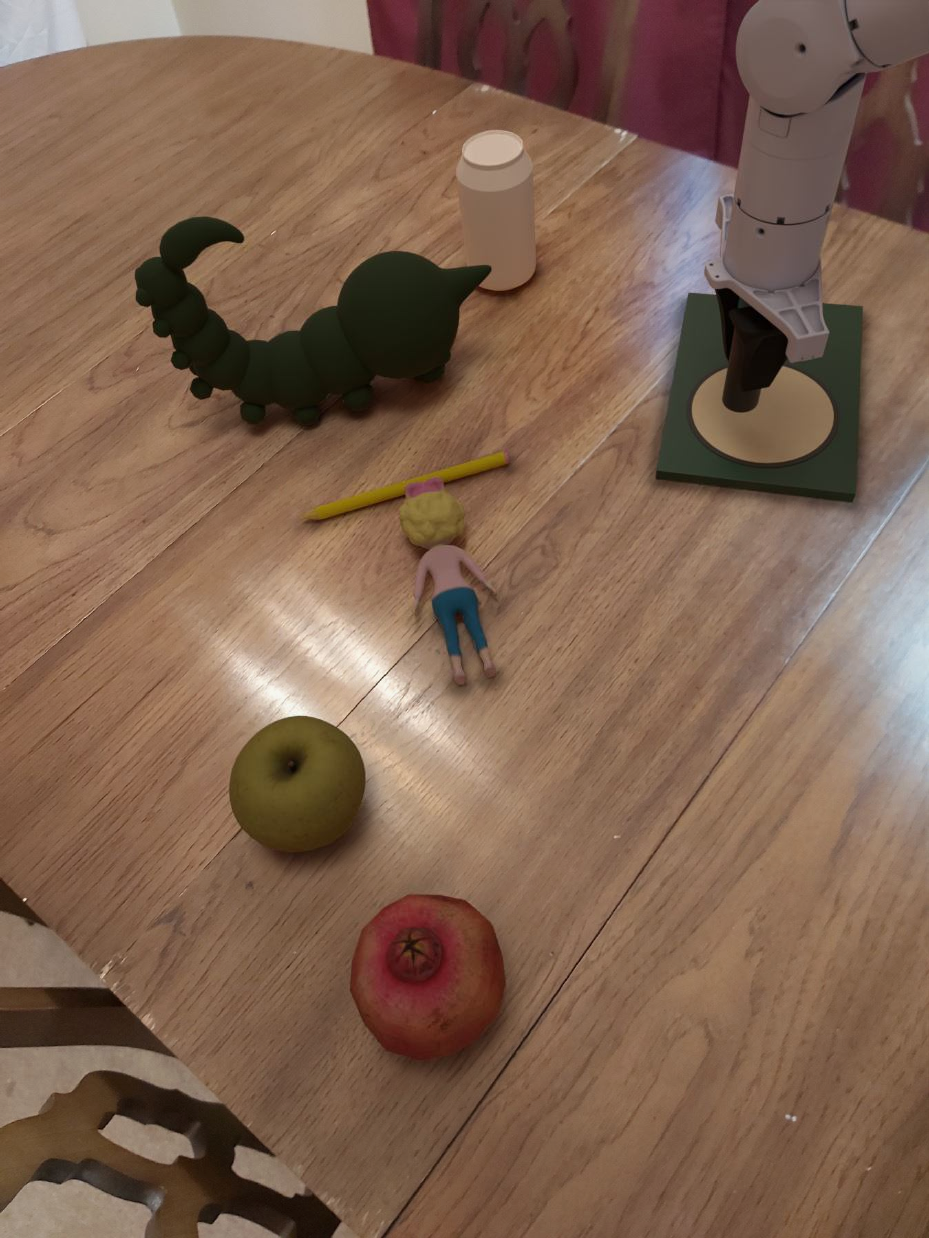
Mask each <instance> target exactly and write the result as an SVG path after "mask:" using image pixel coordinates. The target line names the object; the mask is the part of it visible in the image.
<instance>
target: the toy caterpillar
mask: <svg viewBox="0 0 929 1238" xmlns="http://www.w3.org/2000/svg"><path fill="white" fill-rule="evenodd" d="M244 241H245V235H244V233H243V232H242V231H241V230H240V229H239V228H238V227H236V226H234V225H233V224H231V223H229V222H228V221H226V220H223V219H220V218H216V217H211V216H206V215H205V216H193V217H189V218H186V219H183V220H181V221H178V222H176V223H175V224H174V225H172V226H171V227H169V228H168V229H167V230H166V231H165V232H164V233H163V234H162V236H161V239H160V243H159V247H158V248H159V249H158V250H159V256H152V257H150V258H148V259H145V260H144V261H142V263H141V264H140V266H138V267H136V268H135V270H134V281H135V285H136V290H135V301H136V303H137V304H138V305H139V306H140V307H144V308H149V307H150V310H151V314H152V318H153V321H152V323H151V324H152V330H153V331H152V332H153V334H154V335H156V337H158V338H161V339H168V338H169V336H170V340H171V343H172V347H173V349H174V350H175V351H172V354H171V358H170V363H171V364H172V366H173V368H175V369H177V370H179V371H184V370H189V372H191V374H192V375H194V376H196V377H195V378H192V380H191V383H190V386H189V391H190V393H191V394H192V396H193V397H194V398H195V399H198V400H200V401H203V400H206V399H209V398H211V396H212V394H213V391H214V389H217V390H219V391H222V392H227V391H231V392H232V394H233V395H234V396H235V397H236V398H237V399H239V400H240V401H242V402H241V404H239V412H240V418H241V420H243V421H244V422H245V423H246V424H248V425H258V424H260V423H261V422H263V421H265V419H266V414H267V412H266V406H270V405H272V404H275V405H277V406H279V407H281V408H283V409H287V410H291V411H293V417H294V418H295V420H296V421H297V422H298V423H299V424H300V425H301V426H307V427H310V426H312V425H314V424H316V423H317V421H318V418H319V416H320V414H321V412H320V408H319V406H318V405H319V404H321V403H323V402H324V401H325V400H326V399H327V398H328V396H329V395H336V396H341V398H342V402H343V405H344V406H345V407H346V408H348V409H350V410H351V411H353V412H355V413H356V412H364V411H365V410H366V409H368V408H369V407H370V406H371V405H372V404H373V402H374V398H373V397H374V396H373V395H374V394H373V386H372V385H371V384H370V383H372V381H374V380H375V378H376V377H377V376H379V377H381V378H386V379H394V380H403V379H411V378H414V379H415V380H416V381H418V382H420V383H423V384H434V383H435V382H437V381H440V379H441V378H442V377H443V376H444V374H445V372H446V364H448V363H450V361H451V358H452V357H451V356H452V354H451V353H452V352H451V351H452V348H453V346H454V344H455V340H456V338H457V334H458V331H459V326H460V315H461V314H460V313H461V312H460V309H461V306H462V304H464V303H465V301H466V300H467V299H468V298H469V297H470V295H472V293H473V292H475V290H476V289H477V288H478V287H480V286H479V285H480V284H481V283H482V282H483V281H484V280H485V279H486V277H487V276H488V275H489V274H490V273H491V271H492V268H491V266H489V265H476V266H460V267H450V268H445V267H443V268H442V267H441V266H438V264H436V263H435V262H434V261H432V260H430V259H428V258H427V257H425V256H424V255H423V256H422V255H420V254H417V253H414V252H411V251H405V250H404V251H402V250H390V251H384V252H380V253H376V254H374V255H372V256H370V257H368V258H367V259H365V260H364V261H362V262H361V263H360V264H358V266H356V267H355V268H354V269H353V270H352V271H351V272H350V274H349V275H348V276H347V277H346V279H345V281H344V282H343V285H342V287H341V288H340V291H339V295H338V298H337V302H336V305H329V306H326V307H323V308H320V309H318V310H316V311H315V312H314V313H312V314H311V315H310V316H309V317H308V318H306V320H305V321H304V323H303V324H302V325H301V327H300V329H299V330H297V329H295V330H287V331H285V332H281V333H278V334H277V335H275V336H273V337H272V338H271V339H270V340H268V341H267V340H262V339H249V340H247V339H246V338H244V336H243V335H241V334H240V333H239V332H237V331H235V330H233V329H229V327H228V326H227V323H226V322H225V319H223V317H222V316H220V314H218V313H217V312H216V311H215V310H213V309H211V308H209V307H208V304H207V301H206V298H205V295H204V294H203V293H202V292H201V290H200V289H199V288H198V287H197V286H196V285H195V284H193V283H192V282H189V281H188V279H187V275H186V273H185V271H184V269H186V268H189V266H191V265H193V263H195V261H196V260H197V259H198V258H199V256H200V254H201V253H202V252H203V251H205V250H207V248H210V247H212V246H214V245H217V244H219V243H225V242H229V243H234V244H242V243H244Z"/></svg>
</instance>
